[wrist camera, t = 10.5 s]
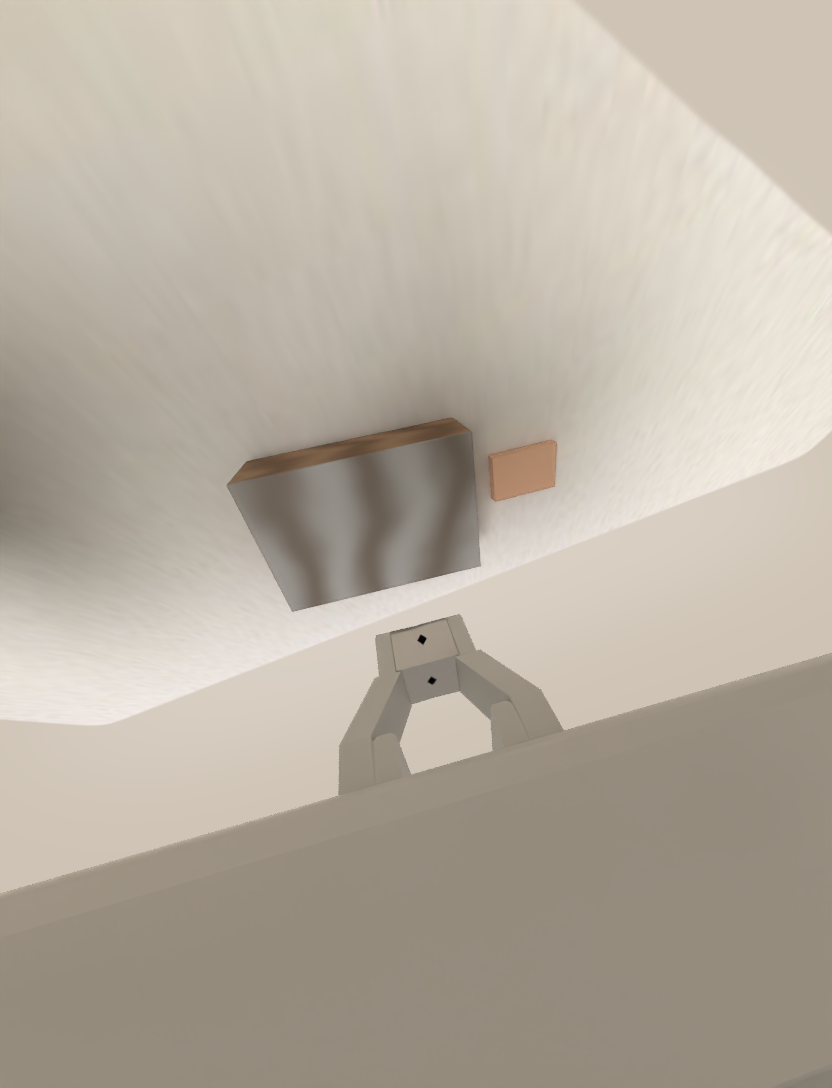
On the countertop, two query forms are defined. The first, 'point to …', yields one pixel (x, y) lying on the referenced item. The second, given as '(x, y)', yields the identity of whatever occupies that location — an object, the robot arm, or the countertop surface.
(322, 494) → the board
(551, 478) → the tile
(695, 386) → the countertop surface
